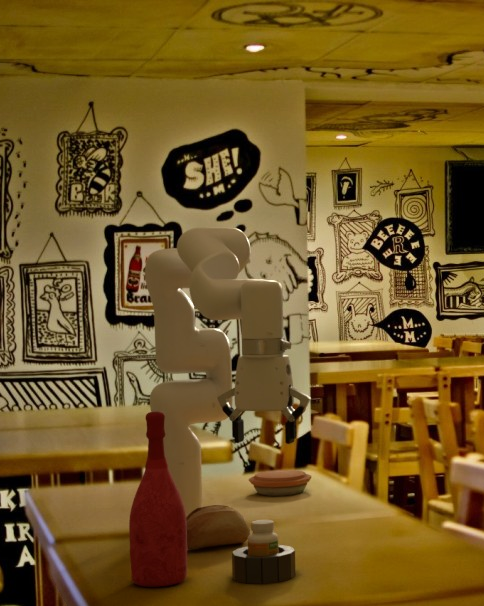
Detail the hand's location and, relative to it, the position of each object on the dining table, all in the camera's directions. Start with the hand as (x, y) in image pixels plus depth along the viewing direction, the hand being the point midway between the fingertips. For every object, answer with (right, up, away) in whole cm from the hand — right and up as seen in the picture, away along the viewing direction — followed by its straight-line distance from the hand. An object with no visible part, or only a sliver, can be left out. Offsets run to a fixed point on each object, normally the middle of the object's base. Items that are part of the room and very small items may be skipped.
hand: (264, 442), depth 225 cm
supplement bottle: (+1, -23, -5) cm, 24 cm away
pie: (-8, -22, +83) cm, 86 cm away
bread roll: (-13, -23, +21) cm, 34 cm away
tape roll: (+1, -23, -5) cm, 24 cm away
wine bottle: (-17, -24, -8) cm, 30 cm away
